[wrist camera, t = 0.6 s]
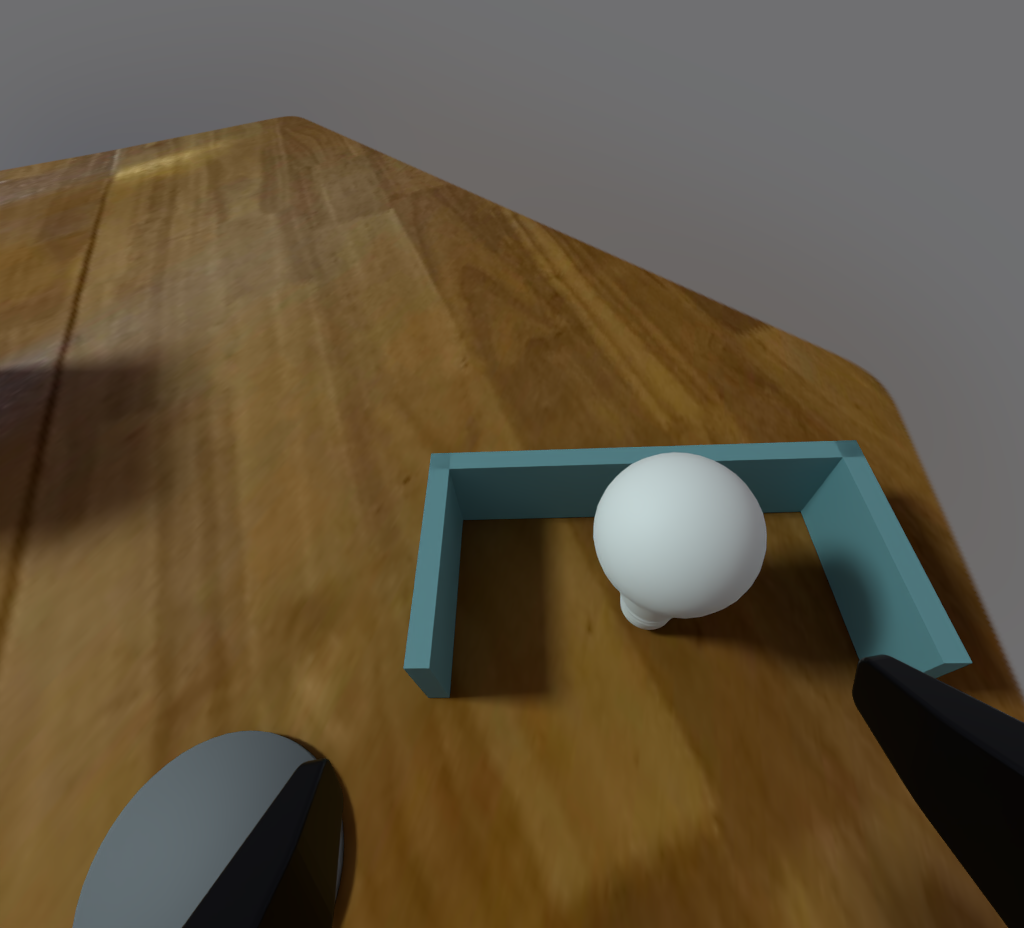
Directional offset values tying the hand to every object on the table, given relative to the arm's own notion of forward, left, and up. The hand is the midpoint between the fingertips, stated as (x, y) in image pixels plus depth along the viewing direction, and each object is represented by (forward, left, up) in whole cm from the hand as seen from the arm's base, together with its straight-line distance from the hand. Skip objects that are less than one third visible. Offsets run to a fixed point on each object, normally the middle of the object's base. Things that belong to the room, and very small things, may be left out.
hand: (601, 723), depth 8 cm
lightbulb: (+5, -7, -16) cm, 18 cm away
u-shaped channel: (+6, -8, -16) cm, 18 cm away
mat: (+4, +14, -16) cm, 21 cm away
